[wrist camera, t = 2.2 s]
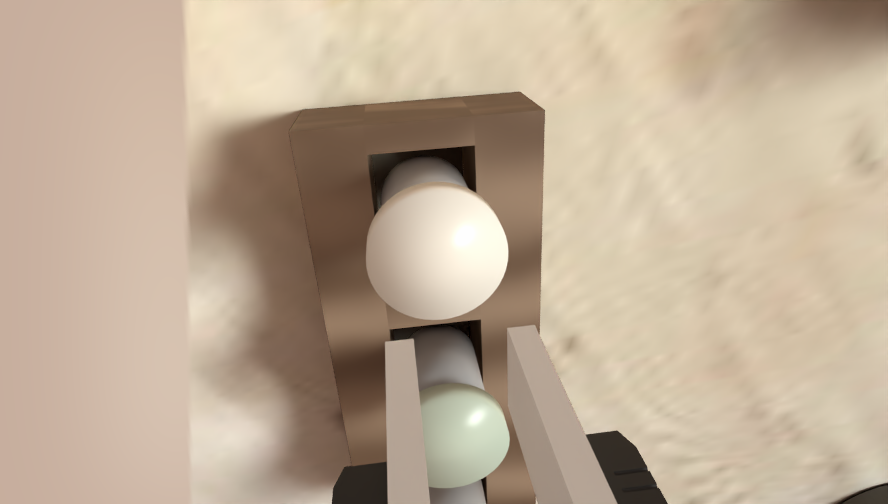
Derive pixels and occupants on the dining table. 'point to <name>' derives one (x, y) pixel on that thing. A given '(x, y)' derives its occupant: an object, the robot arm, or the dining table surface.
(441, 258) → the knob
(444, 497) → the knob
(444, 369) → the knob middle
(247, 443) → the dining table surface
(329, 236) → the panel
